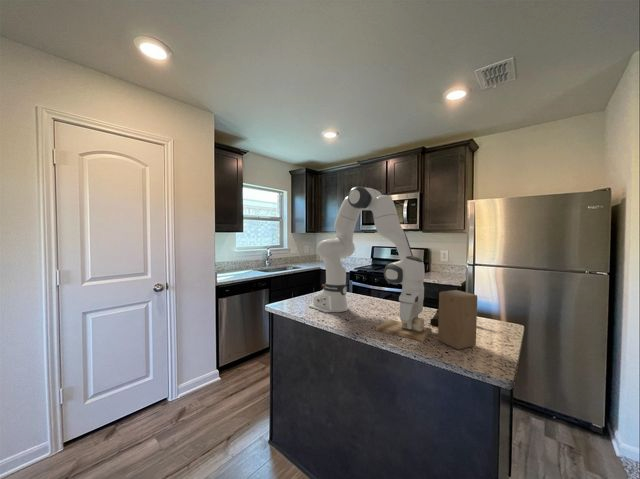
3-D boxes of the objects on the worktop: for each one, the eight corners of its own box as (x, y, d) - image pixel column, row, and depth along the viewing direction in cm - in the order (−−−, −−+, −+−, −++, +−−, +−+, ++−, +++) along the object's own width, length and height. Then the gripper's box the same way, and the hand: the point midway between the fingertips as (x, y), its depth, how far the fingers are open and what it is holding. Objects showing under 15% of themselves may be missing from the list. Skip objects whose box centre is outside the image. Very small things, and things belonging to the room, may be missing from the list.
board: (376, 330, 120) (376, 326, 120) (387, 322, 131) (387, 319, 131) (423, 341, 108) (423, 337, 108) (431, 332, 119) (431, 328, 119)
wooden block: (458, 350, 100) (459, 296, 100) (436, 340, 109) (438, 291, 109) (477, 346, 104) (478, 294, 104) (454, 337, 113) (456, 289, 113)
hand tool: (439, 327, 125) (439, 317, 125) (429, 326, 127) (430, 316, 127) (446, 317, 141) (446, 308, 141) (438, 315, 143) (438, 307, 143)
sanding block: (401, 329, 118) (402, 317, 118) (405, 326, 121) (405, 315, 121) (420, 333, 113) (421, 321, 113) (423, 330, 117) (424, 318, 117)
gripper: (412, 289, 127) (412, 318, 128) (397, 297, 111) (396, 331, 111) (426, 291, 124) (426, 321, 124) (413, 300, 107) (412, 335, 107)
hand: (411, 326), depth 117 cm, fingers closed on sanding block, 4 cm apart
